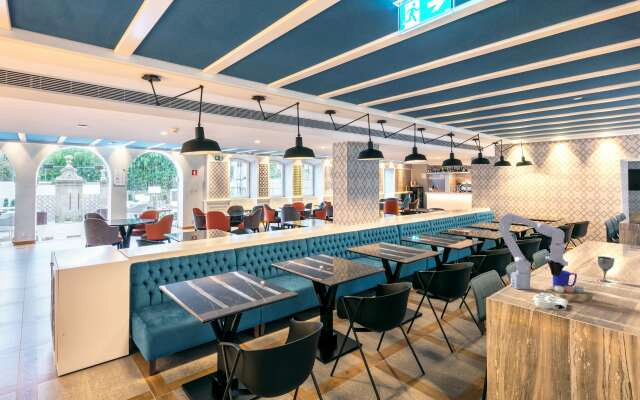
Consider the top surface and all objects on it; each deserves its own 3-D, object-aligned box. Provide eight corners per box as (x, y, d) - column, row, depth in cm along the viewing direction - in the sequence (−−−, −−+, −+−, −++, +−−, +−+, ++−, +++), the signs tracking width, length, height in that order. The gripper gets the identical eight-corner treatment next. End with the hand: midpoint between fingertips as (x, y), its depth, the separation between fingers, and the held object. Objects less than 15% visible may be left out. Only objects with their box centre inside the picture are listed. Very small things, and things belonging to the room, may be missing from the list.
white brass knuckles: (564, 313, 152) (527, 305, 162) (568, 304, 166) (534, 296, 175) (565, 306, 152) (528, 298, 162) (568, 297, 165) (534, 290, 175)
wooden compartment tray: (559, 300, 169) (559, 294, 169) (545, 294, 179) (546, 288, 179) (592, 301, 169) (592, 295, 168) (576, 294, 179) (577, 289, 178)
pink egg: (567, 294, 172) (568, 288, 171) (562, 291, 176) (562, 285, 175) (575, 294, 172) (575, 288, 171) (569, 291, 176) (569, 285, 175)
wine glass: (599, 281, 205) (600, 258, 205) (594, 278, 213) (595, 255, 212) (615, 283, 202) (616, 259, 202) (609, 280, 210) (611, 257, 209)
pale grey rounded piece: (557, 293, 172) (558, 287, 171) (552, 291, 176) (552, 285, 175) (565, 294, 172) (565, 288, 171) (559, 291, 176) (560, 285, 175)
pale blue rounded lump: (577, 294, 172) (578, 288, 171) (571, 291, 176) (572, 285, 175) (585, 294, 172) (585, 288, 171) (579, 292, 176) (579, 286, 175)
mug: (579, 291, 184) (580, 274, 184) (555, 289, 187) (556, 272, 186) (571, 287, 192) (572, 270, 192) (548, 285, 195) (549, 269, 194)
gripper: (574, 254, 172) (572, 279, 173) (554, 248, 187) (553, 272, 187) (561, 253, 172) (559, 279, 173) (542, 248, 187) (540, 271, 187)
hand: (555, 275), depth 180 cm, fingers closed
